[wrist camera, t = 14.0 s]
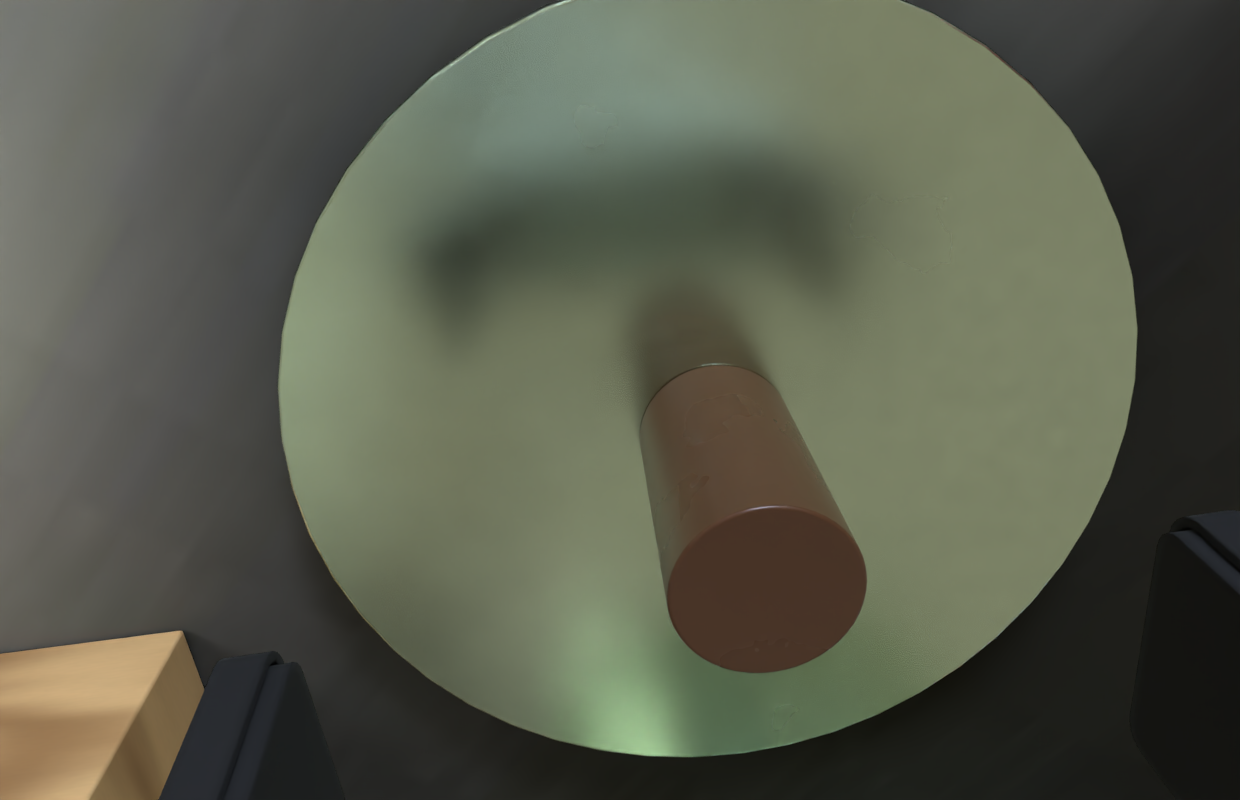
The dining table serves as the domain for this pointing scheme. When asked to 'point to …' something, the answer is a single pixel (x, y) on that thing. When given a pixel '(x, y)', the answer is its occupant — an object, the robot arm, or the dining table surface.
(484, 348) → the lid
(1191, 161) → the dining table surface
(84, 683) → the block
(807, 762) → the dining table surface
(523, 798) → the dining table surface
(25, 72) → the dining table surface
